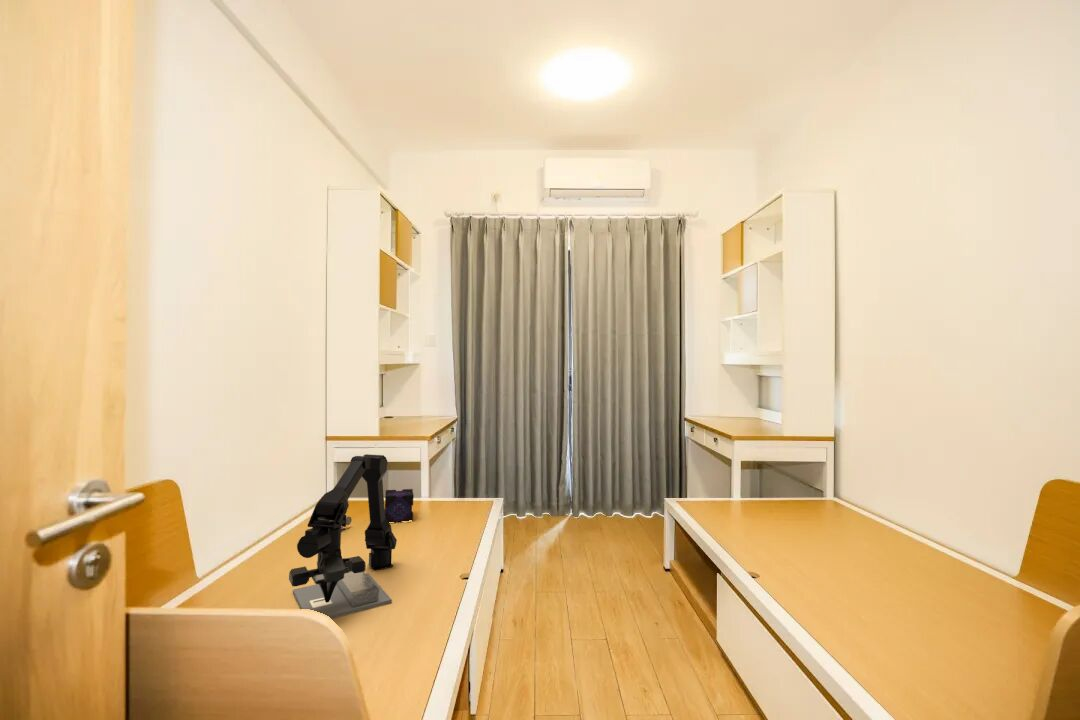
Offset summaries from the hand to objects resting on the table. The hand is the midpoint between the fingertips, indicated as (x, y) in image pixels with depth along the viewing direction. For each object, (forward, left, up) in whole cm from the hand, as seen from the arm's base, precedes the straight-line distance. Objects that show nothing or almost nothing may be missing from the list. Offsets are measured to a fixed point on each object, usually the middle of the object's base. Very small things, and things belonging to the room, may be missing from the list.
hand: (327, 601), depth 131 cm
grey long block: (-9, -6, -1) cm, 11 cm away
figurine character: (-17, -68, -3) cm, 70 cm away
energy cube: (-46, -72, -3) cm, 86 cm away
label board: (-5, -6, -2) cm, 8 cm away
